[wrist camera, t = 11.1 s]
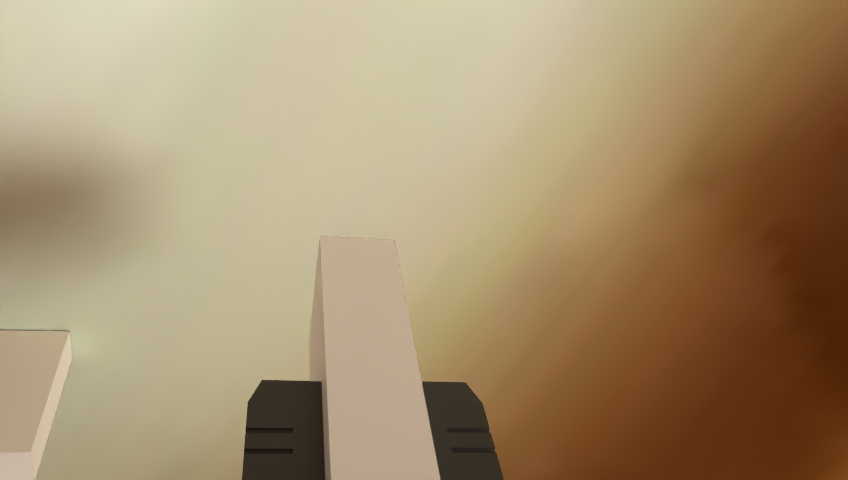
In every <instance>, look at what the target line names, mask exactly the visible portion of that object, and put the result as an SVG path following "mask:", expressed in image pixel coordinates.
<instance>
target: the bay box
mask: <svg viewBox="0 0 848 480" xmlns="http://www.w3.org/2000/svg"><path fill="white" fill-rule="evenodd" d="M71 360H72V349H71V341H70V332H69V331H13V330H0V480H34V479H36V475H37V472H38V469H39V465H40V462H41V459H42V455H43V452H44V449H45V446H46V442H47V439H48V436H49V432H50V429H51V426H52V422H53V419H54V416H55V413H56V409H57V406H58V403H59V399H60V396H61V393H62V389H63V386H64V383H65V380H66V376H67V373H68V370H69V366H70V363H71Z"/></svg>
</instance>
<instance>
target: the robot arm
mask: <svg viewBox="0 0 848 480" xmlns="http://www.w3.org/2000/svg"><path fill="white" fill-rule="evenodd" d="M309 355H310V381H281V380H262V381H261V383H260V384H259V386H258V387H257V389H256V390H255V392H254V394H253V395H252V397H251V398H250V400H249V401H248V408H247V421H246V435H245V448H244V462H243V476H242V480H504V479H503V476H502V472H501V468H500V465H499V461H498V458H497V454H496V453H495V447H494V443H493V439H492V436H491V433H489V425H488V421H487V418H486V414H485V411H484V407H483V404H482V402H481V401H480V400H479V399H478V397H477V396H476V395H475V394H474V393H473V391H472V390H471V389H470V388H469V386H468V385H467V384H466V383H464V382H422V381H421V376H420V371H419V365H418V360H417V355H416V350H415V345H414V339H413V334H412V329H411V324H410V319H409V313H408V308H407V303H406V298H405V293H404V287H403V282H402V277H401V272H400V267H399V261H398V256H397V251H396V246H395V241H394V240H383V239H366V238H349V237H332V236H320V240H319V250H318V260H317V270H316V280H315V289H314V299H313V309H312V319H311V329H310V338H309Z"/></svg>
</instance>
